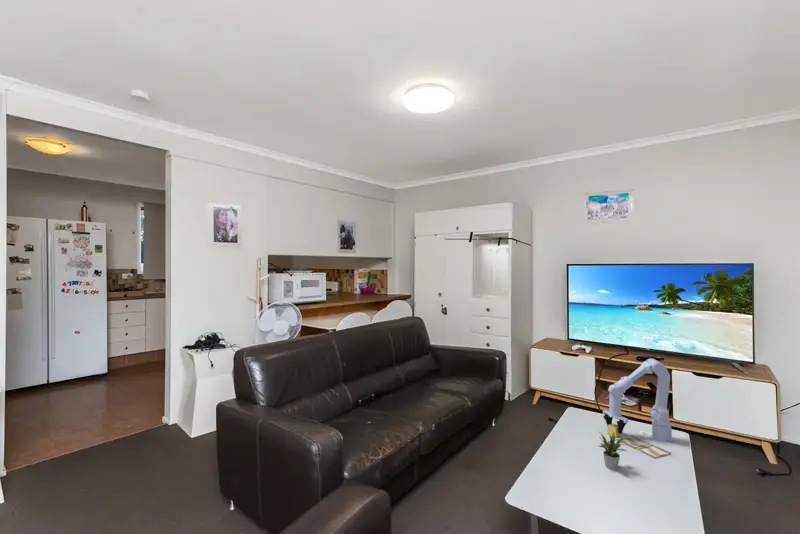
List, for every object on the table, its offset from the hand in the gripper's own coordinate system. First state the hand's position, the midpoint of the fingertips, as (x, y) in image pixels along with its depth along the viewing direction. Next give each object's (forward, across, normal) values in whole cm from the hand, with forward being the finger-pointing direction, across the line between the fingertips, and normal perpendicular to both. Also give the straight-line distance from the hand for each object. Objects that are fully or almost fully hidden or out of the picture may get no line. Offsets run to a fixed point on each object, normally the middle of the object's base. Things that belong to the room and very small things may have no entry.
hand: (614, 430), depth 219 cm
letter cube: (+2, 0, 0) cm, 2 cm away
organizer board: (+3, +12, +1) cm, 12 cm away
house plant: (+3, +24, -31) cm, 40 cm away
